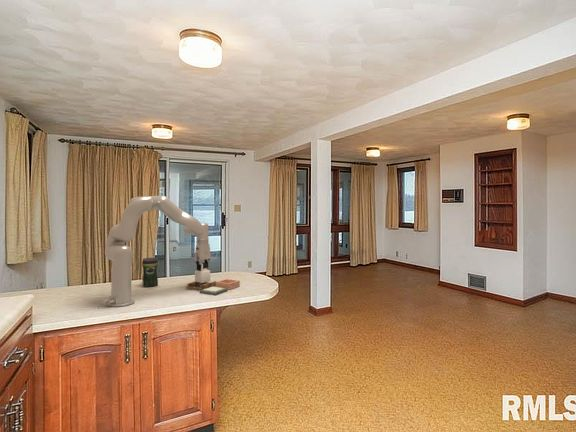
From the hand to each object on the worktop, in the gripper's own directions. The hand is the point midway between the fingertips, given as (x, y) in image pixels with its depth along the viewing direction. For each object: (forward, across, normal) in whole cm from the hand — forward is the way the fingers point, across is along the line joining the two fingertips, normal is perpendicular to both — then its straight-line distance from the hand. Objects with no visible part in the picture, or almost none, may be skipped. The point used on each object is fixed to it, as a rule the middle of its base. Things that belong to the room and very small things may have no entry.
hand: (202, 269), depth 218 cm
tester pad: (+11, -7, -15) cm, 20 cm away
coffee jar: (+12, -14, +32) cm, 37 cm away
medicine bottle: (+8, 0, 0) cm, 8 cm away
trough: (+12, 0, 0) cm, 12 cm away
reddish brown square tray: (+12, +7, -15) cm, 20 cm away
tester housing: (+11, -7, -15) cm, 20 cm away
